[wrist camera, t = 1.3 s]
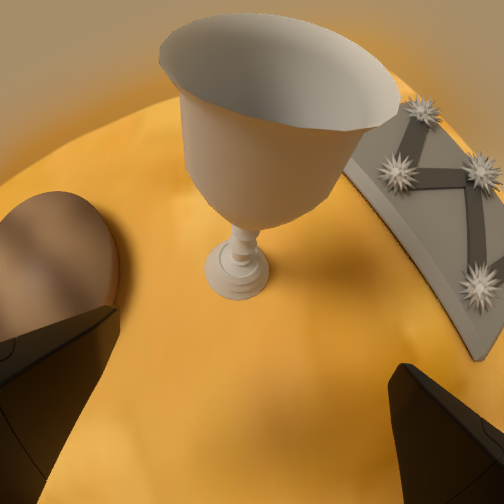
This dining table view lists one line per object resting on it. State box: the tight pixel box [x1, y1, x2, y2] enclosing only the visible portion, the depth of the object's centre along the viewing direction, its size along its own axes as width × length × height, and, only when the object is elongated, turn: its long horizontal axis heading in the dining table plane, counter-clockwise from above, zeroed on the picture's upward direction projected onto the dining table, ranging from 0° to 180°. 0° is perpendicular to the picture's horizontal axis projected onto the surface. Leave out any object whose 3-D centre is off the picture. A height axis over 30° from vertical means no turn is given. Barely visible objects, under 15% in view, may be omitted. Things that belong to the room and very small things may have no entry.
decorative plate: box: [343, 94, 504, 361], centre depth 27 cm, size 30×22×7 cm
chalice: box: [159, 13, 401, 300], centre depth 16 cm, size 7×7×18 cm
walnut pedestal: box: [0, 191, 120, 342], centre depth 20 cm, size 14×14×2 cm
